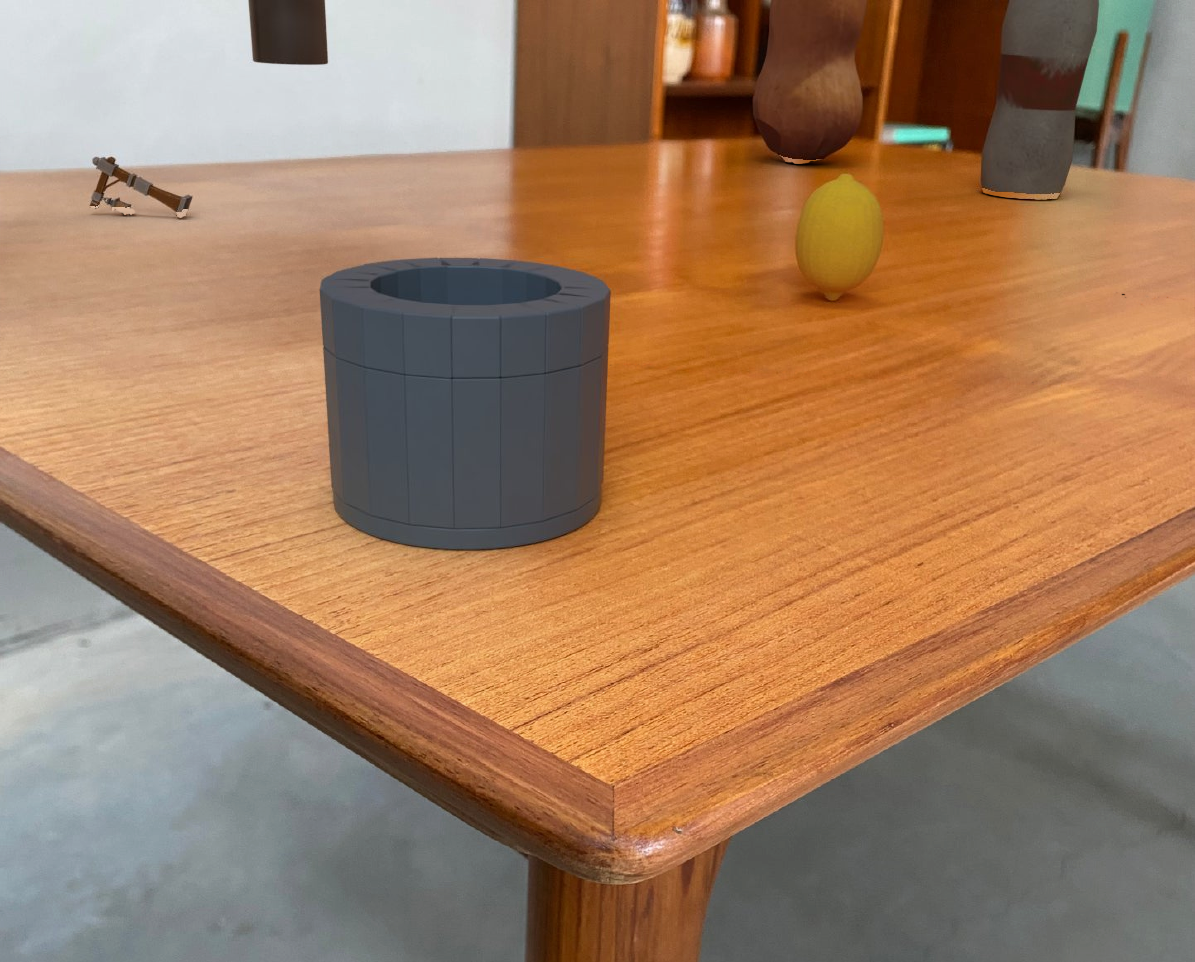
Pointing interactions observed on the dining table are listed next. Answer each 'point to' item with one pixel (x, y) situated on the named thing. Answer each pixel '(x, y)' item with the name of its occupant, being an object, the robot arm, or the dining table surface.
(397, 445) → the grey paneled mortar
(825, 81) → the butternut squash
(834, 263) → the lemon
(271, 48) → the tan cylinder
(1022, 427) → the dining table surface
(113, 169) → the wooden post with brackets
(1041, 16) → the grey vase with band
